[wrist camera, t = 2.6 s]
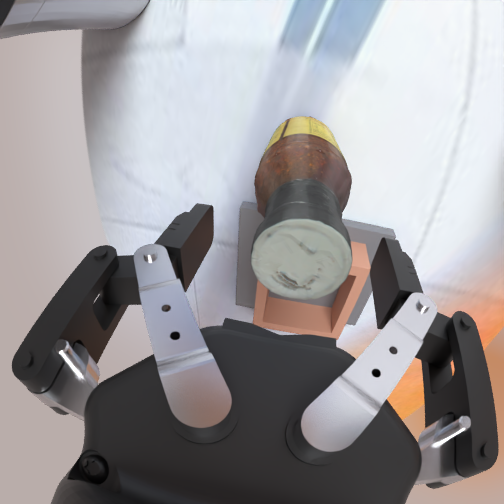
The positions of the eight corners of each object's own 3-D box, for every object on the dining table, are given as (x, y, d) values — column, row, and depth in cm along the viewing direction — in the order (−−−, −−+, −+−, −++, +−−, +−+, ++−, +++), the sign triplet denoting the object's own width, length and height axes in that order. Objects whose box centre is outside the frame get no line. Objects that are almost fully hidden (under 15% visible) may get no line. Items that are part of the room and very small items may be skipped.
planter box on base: (238, 297, 42) (227, 328, 37) (243, 201, 32) (229, 229, 27) (354, 317, 40) (355, 350, 35) (393, 229, 30) (404, 261, 25)
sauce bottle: (290, 179, 29) (254, 333, 14) (262, 128, 26) (179, 234, 11) (346, 158, 26) (387, 303, 11) (321, 103, 23) (343, 168, 8)
